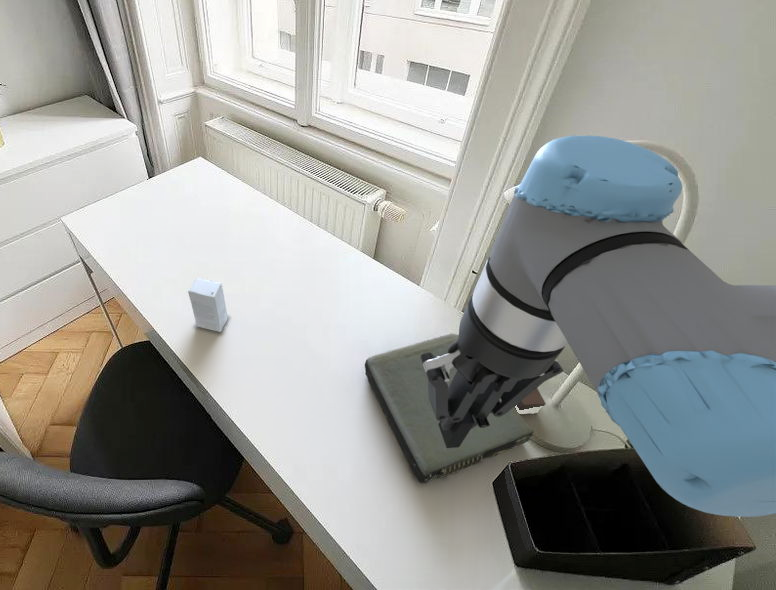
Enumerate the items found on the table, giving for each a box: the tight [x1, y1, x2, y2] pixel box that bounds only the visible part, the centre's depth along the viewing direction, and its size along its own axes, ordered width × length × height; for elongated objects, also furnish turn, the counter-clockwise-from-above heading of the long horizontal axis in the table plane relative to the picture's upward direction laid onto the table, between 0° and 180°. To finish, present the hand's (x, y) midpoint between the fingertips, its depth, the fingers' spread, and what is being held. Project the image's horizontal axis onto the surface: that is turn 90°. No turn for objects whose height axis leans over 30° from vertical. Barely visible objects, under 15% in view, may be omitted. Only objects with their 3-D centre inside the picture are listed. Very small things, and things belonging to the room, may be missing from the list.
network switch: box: [364, 333, 534, 484], centre depth 74 cm, size 23×24×5 cm
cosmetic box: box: [187, 277, 229, 333], centre depth 88 cm, size 6×4×12 cm
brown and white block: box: [514, 387, 547, 410], centre depth 75 cm, size 6×4×4 cm, turn 3°
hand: (448, 435), depth 49 cm, fingers closed
